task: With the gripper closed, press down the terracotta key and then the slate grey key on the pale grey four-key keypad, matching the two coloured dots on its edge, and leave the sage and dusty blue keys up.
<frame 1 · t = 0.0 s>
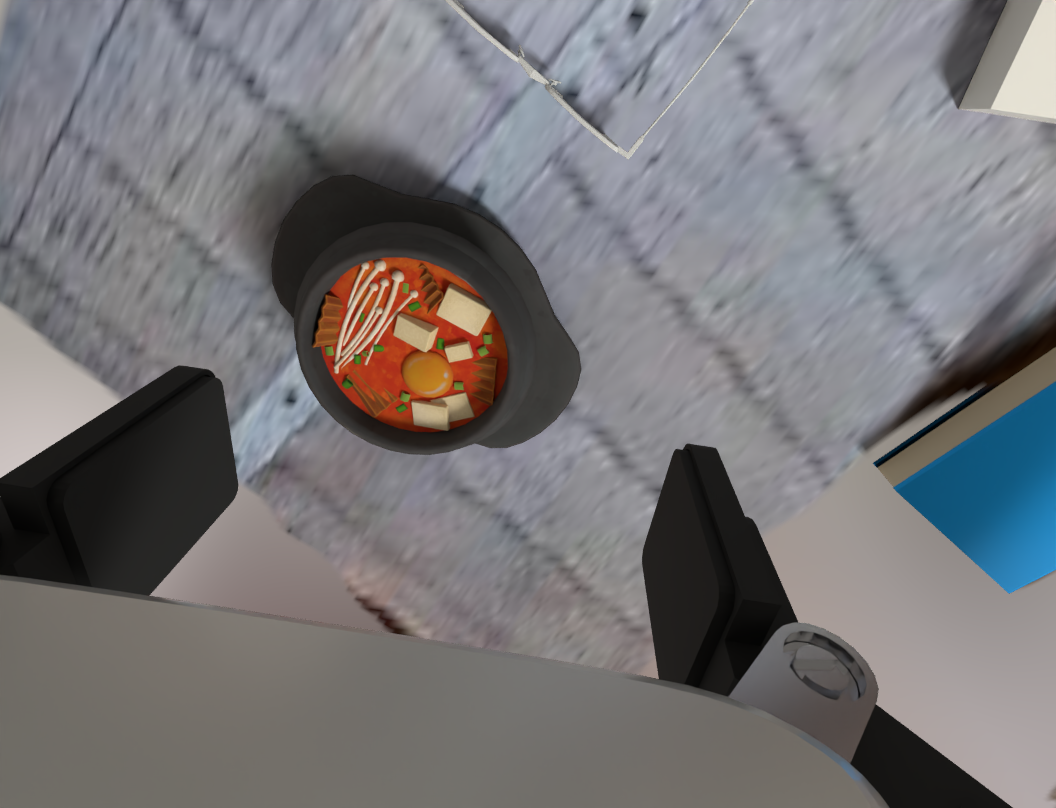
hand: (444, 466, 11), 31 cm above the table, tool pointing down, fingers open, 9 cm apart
casserole: (435, 318, 43), on the table
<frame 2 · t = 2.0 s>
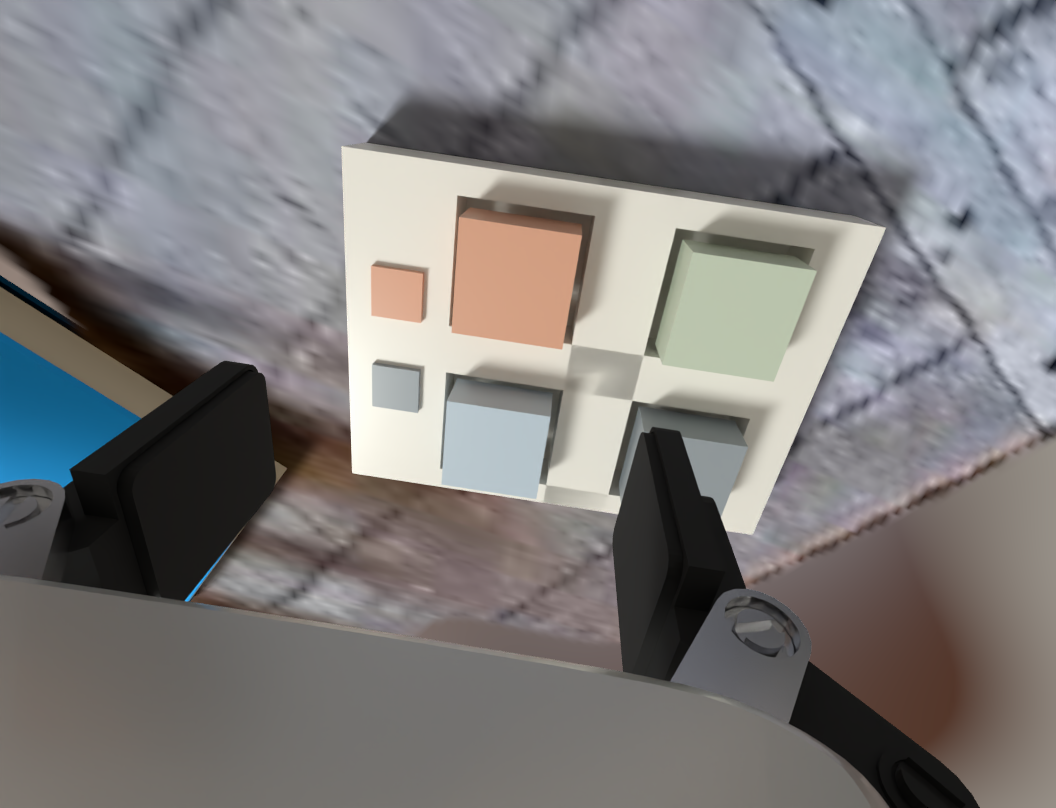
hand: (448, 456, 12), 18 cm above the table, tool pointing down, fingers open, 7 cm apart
key slate: (678, 466, 28), point 4 cm above the table, slide at 0.0 cm
keypad: (577, 346, 29), on the table
key terracotta: (516, 278, 24), point 4 cm above the table, slide at 0.0 cm
key sage: (728, 310, 24), point 4 cm above the table, slide at 0.0 cm
book: (72, 433, 36), on the table
key blue: (496, 438, 28), point 4 cm above the table, slide at 0.0 cm
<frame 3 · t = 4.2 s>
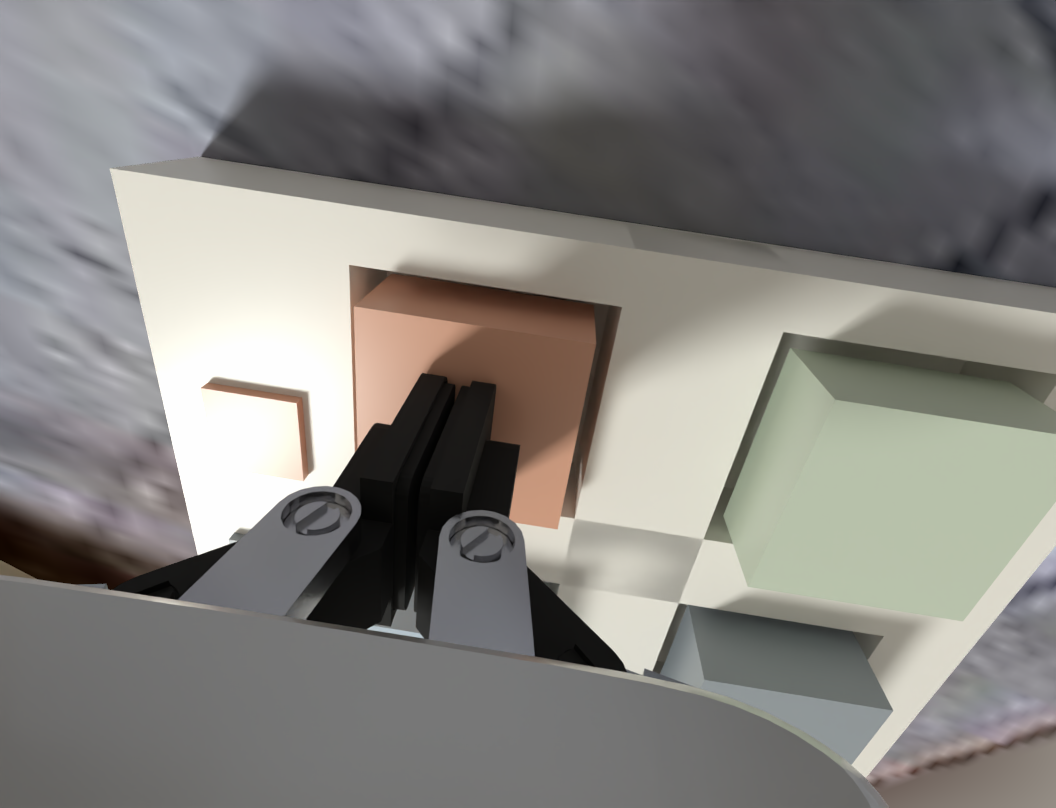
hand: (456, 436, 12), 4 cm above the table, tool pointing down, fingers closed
key slate: (753, 705, 17), point 4 cm above the table, slide at 0.0 cm
keypad: (584, 489, 18), on the table
key terracotta: (475, 402, 13), point 3 cm above the table, slide at 0.9 cm, touching gripper
key sage: (877, 485, 12), point 4 cm above the table, slide at 0.0 cm
key blue: (447, 655, 17), point 4 cm above the table, slide at 0.0 cm
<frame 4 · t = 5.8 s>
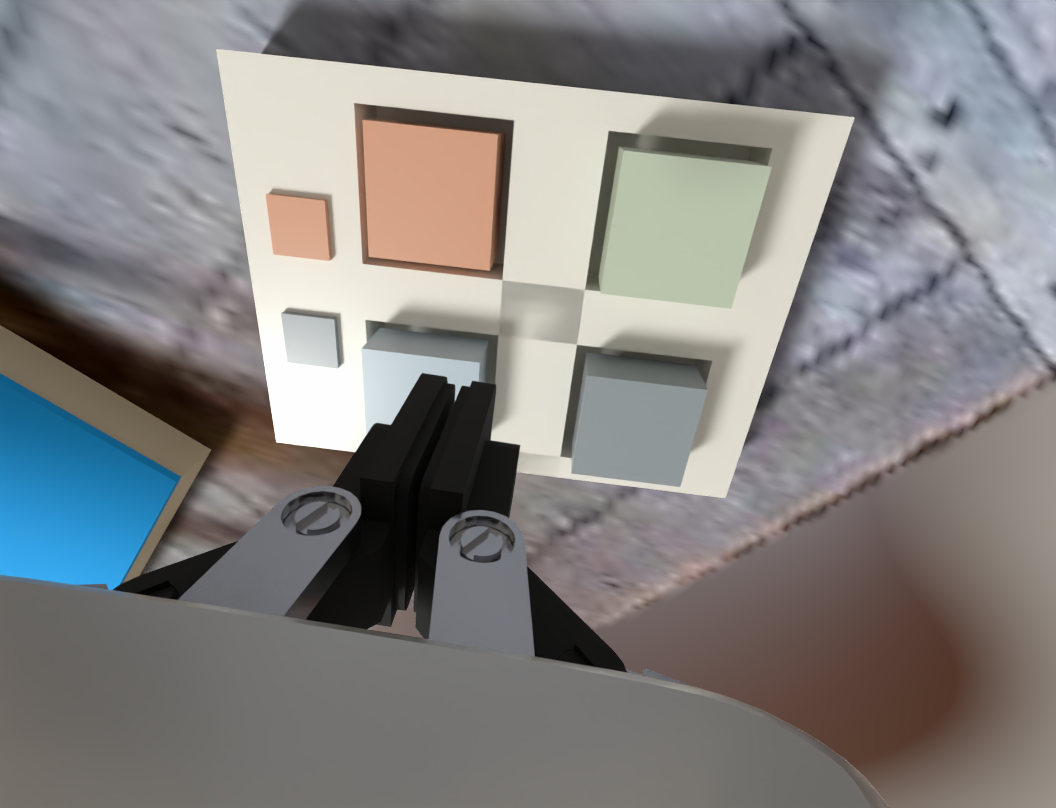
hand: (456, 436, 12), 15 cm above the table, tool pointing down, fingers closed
key slate: (633, 419, 25), point 4 cm above the table, slide at 0.0 cm
keypad: (518, 289, 26), on the table
key terracotta: (436, 195, 22), point 2 cm above the table, slide at 1.4 cm
key sage: (675, 227, 21), point 4 cm above the table, slide at 0.0 cm
key blue: (427, 394, 25), point 4 cm above the table, slide at 0.0 cm
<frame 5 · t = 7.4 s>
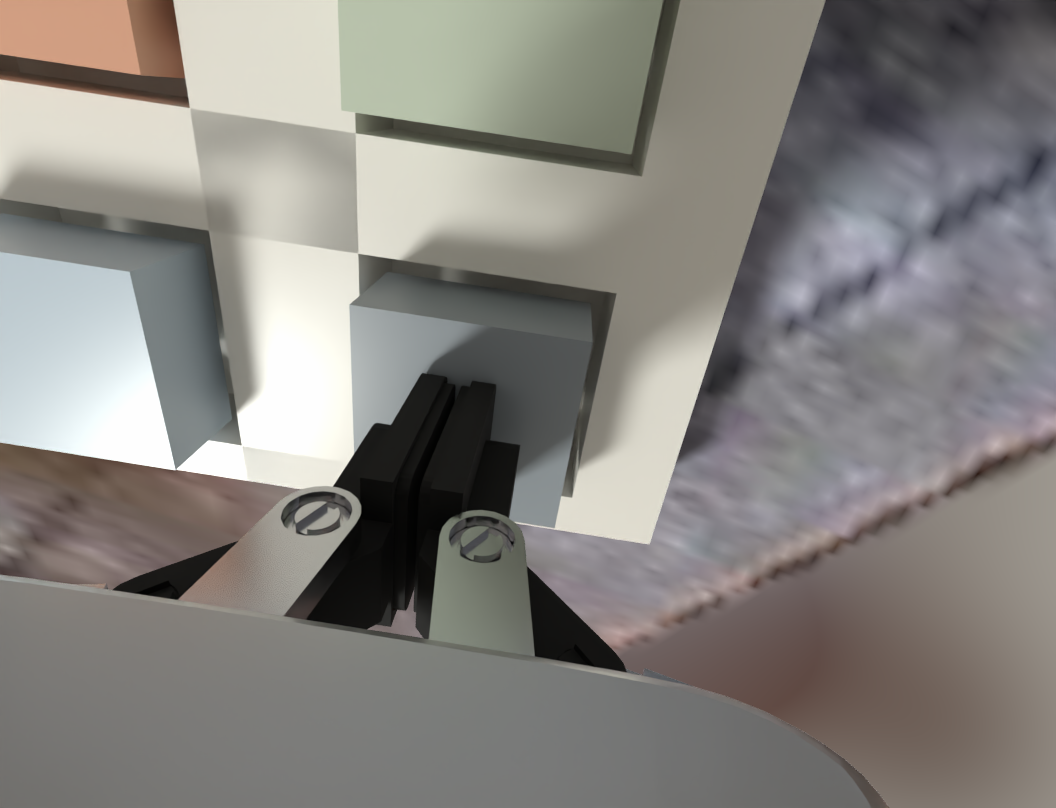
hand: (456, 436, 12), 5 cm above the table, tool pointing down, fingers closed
key slate: (471, 400, 13), point 4 cm above the table, slide at 0.1 cm, touching gripper
keypad: (286, 163, 15), on the table
key blue: (89, 342, 13), point 4 cm above the table, slide at 0.0 cm
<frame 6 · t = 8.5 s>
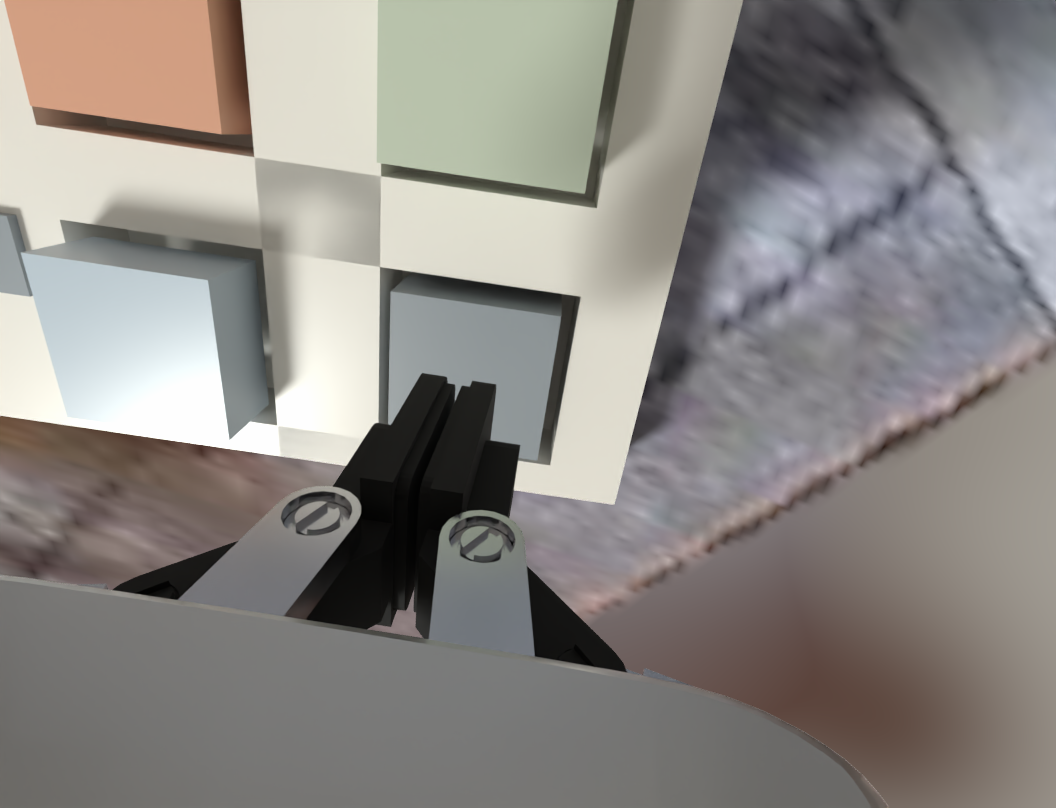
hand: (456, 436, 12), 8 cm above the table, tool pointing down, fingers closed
key slate: (474, 366, 18), point 2 cm above the table, slide at 1.4 cm
keypad: (318, 196, 18), on the table
key terracotta: (141, 13, 14), point 2 cm above the table, slide at 1.4 cm
key sage: (497, 61, 13), point 4 cm above the table, slide at 0.0 cm
key blue: (161, 338, 17), point 4 cm above the table, slide at 0.0 cm
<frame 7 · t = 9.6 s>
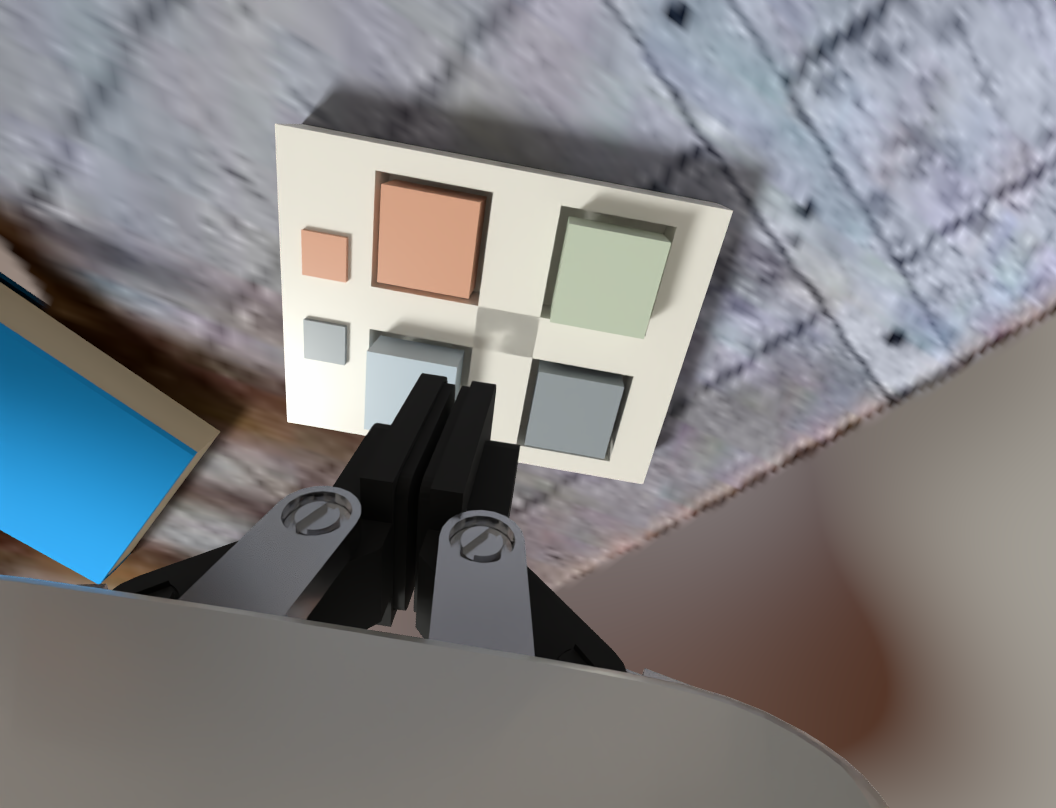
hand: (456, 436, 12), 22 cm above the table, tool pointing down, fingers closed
key slate: (572, 407, 33), point 2 cm above the table, slide at 1.4 cm
keypad: (490, 312, 33), on the table
key terracotta: (431, 239, 29), point 2 cm above the table, slide at 1.4 cm
key sage: (606, 277, 28), point 4 cm above the table, slide at 0.0 cm
book: (20, 393, 39), on the table
key blue: (414, 389, 32), point 4 cm above the table, slide at 0.0 cm
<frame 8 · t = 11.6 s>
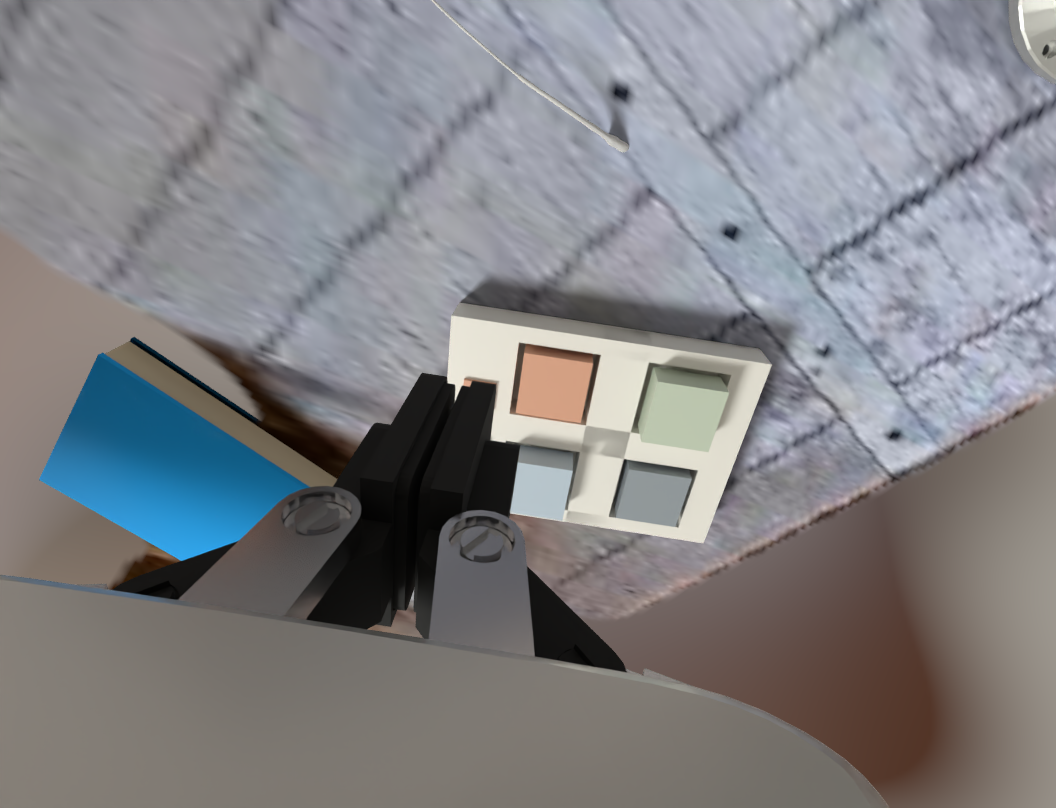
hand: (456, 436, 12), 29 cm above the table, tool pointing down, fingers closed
key slate: (651, 489, 45), point 2 cm above the table, slide at 1.4 cm
keypad: (588, 420, 45), on the table
key terracotta: (553, 381, 41), point 2 cm above the table, slide at 1.4 cm
key sage: (680, 409, 40), point 4 cm above the table, slide at 0.0 cm
book: (226, 478, 52), on the table
key blue: (537, 482, 44), point 4 cm above the table, slide at 0.0 cm
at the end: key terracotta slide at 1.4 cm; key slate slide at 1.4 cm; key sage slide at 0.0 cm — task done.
